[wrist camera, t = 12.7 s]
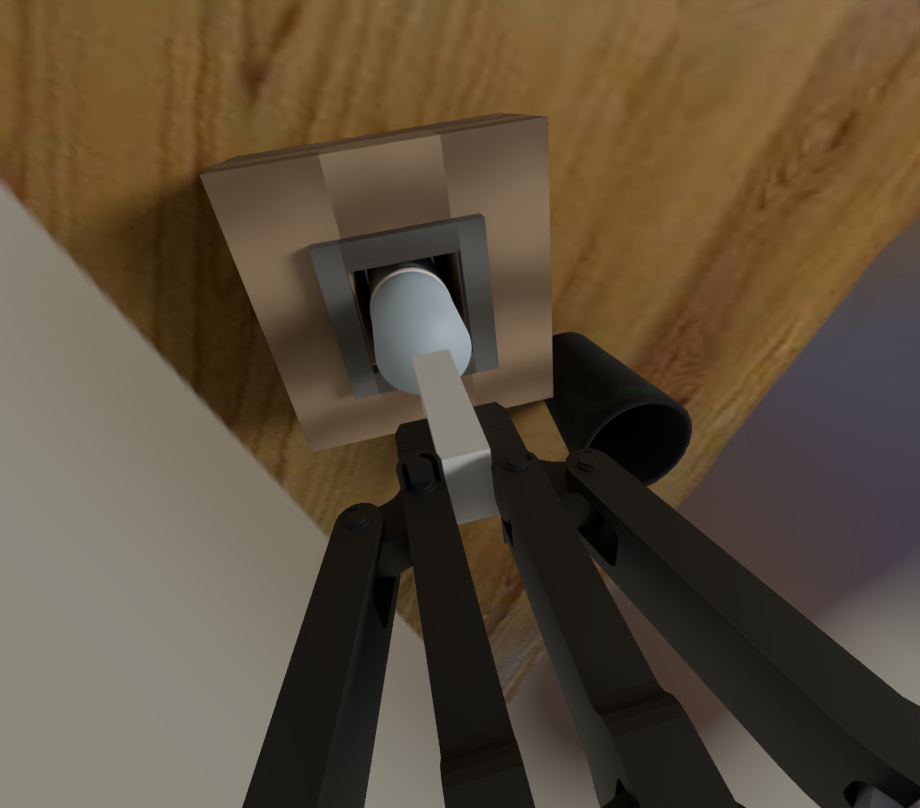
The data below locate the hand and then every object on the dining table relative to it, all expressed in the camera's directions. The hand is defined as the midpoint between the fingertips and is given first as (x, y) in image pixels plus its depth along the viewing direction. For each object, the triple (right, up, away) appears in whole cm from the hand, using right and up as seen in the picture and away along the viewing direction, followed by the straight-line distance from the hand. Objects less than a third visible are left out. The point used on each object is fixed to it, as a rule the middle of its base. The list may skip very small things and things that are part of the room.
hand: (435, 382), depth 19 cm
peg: (-3, +8, +12) cm, 15 cm away
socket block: (-3, +9, +13) cm, 16 cm away
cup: (+10, +3, +20) cm, 23 cm away
